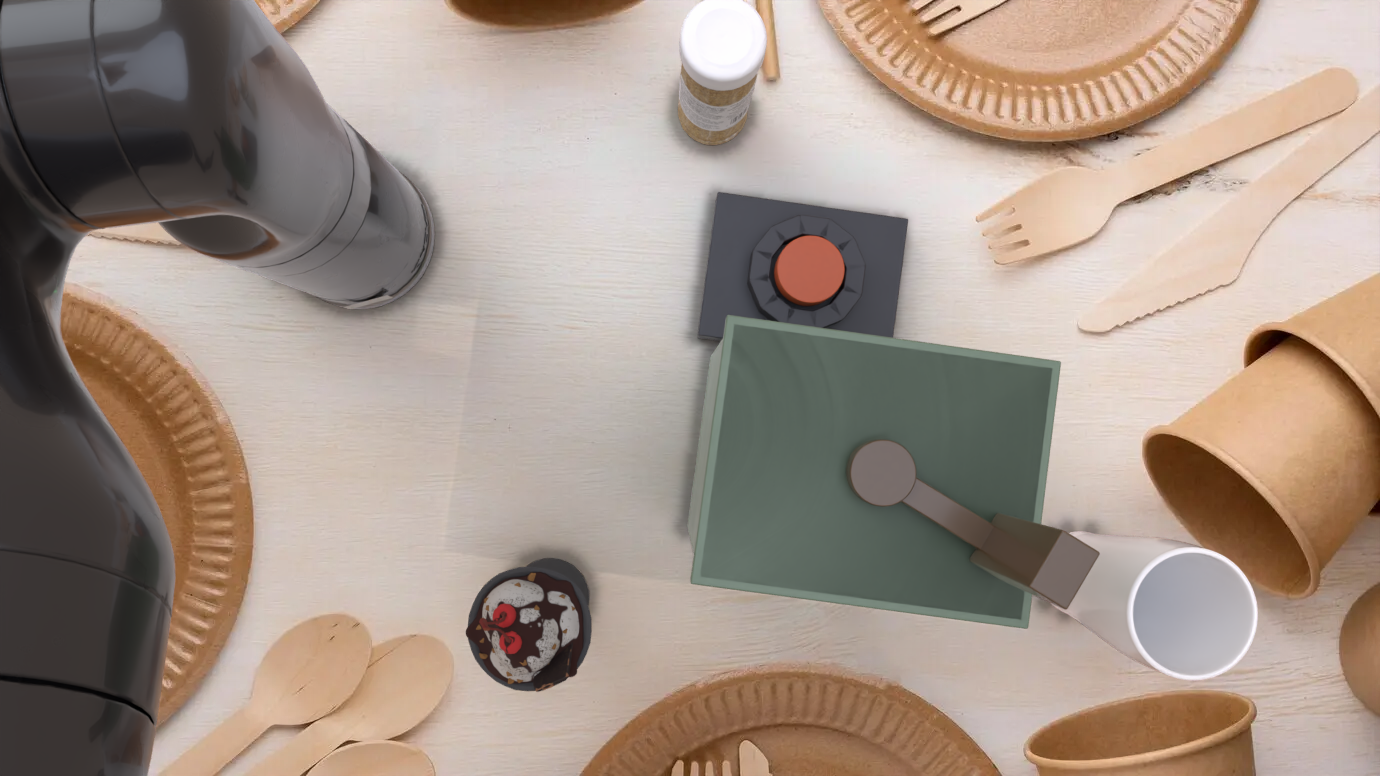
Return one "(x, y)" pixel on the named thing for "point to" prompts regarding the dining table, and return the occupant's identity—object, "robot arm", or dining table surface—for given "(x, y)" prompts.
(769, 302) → the control box
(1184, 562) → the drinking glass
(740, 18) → the sprinkles bottle
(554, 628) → the sundae
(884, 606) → the block
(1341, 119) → the dining table surface
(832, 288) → the button
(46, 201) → the robot arm
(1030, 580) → the lever
